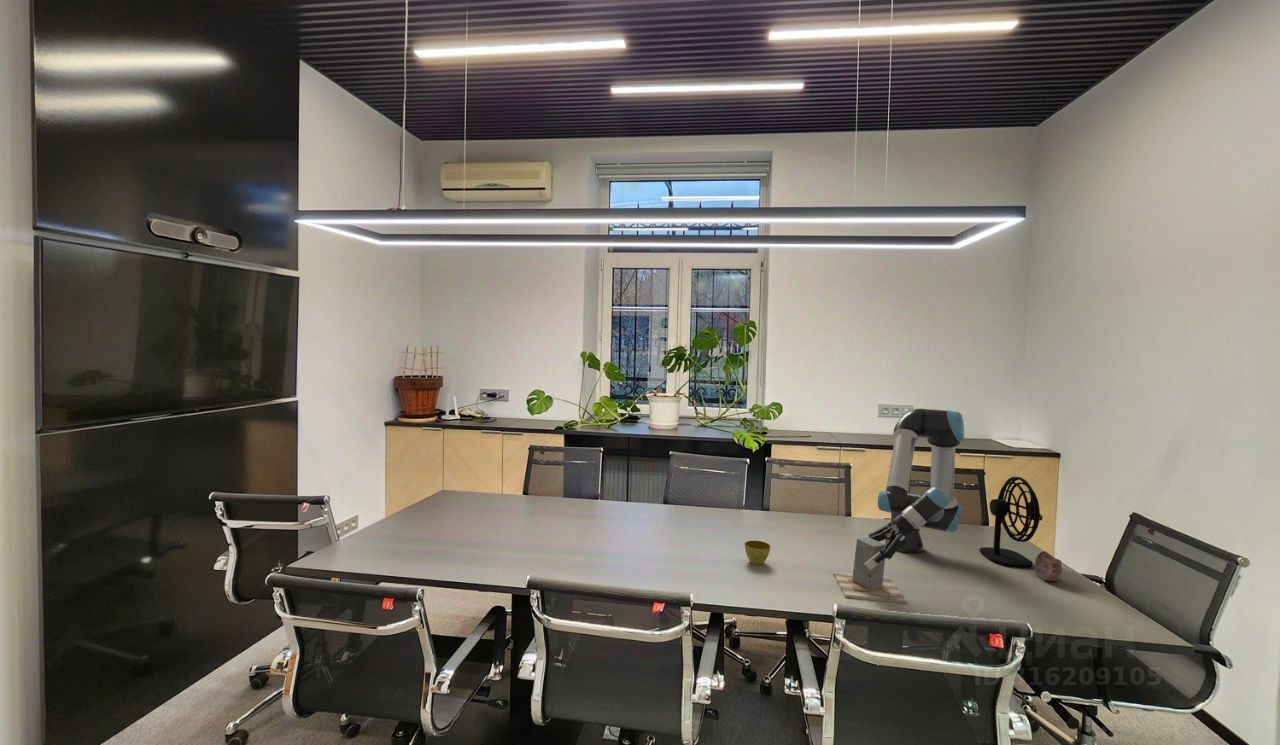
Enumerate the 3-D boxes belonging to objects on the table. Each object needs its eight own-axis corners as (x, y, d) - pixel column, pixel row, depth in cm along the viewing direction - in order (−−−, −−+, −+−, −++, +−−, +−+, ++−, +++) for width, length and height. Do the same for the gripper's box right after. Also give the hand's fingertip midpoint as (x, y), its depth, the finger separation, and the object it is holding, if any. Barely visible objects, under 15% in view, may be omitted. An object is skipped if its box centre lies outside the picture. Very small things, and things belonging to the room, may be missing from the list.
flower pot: (770, 568, 214) (771, 550, 214) (743, 565, 216) (744, 547, 216) (769, 559, 224) (770, 541, 224) (744, 556, 226) (744, 539, 226)
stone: (1031, 572, 220) (1033, 547, 220) (1056, 574, 218) (1057, 549, 218) (1046, 584, 208) (1048, 558, 208) (1072, 587, 206) (1074, 561, 206)
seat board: (833, 574, 210) (833, 571, 210) (888, 579, 207) (888, 576, 207) (845, 597, 190) (845, 593, 190) (906, 603, 187) (906, 599, 187)
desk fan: (1050, 573, 219) (1055, 486, 218) (1002, 570, 221) (1007, 483, 220) (1012, 550, 246) (1017, 471, 245) (970, 546, 248) (974, 469, 247)
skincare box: (851, 581, 201) (853, 538, 201) (866, 578, 204) (868, 536, 204) (870, 590, 193) (872, 545, 193) (885, 587, 196) (887, 543, 196)
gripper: (929, 541, 184) (879, 581, 186) (904, 519, 208) (860, 555, 211) (913, 524, 184) (864, 564, 187) (890, 504, 209) (847, 540, 211)
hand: (862, 559), depth 199 cm, fingers open, 13 cm apart
